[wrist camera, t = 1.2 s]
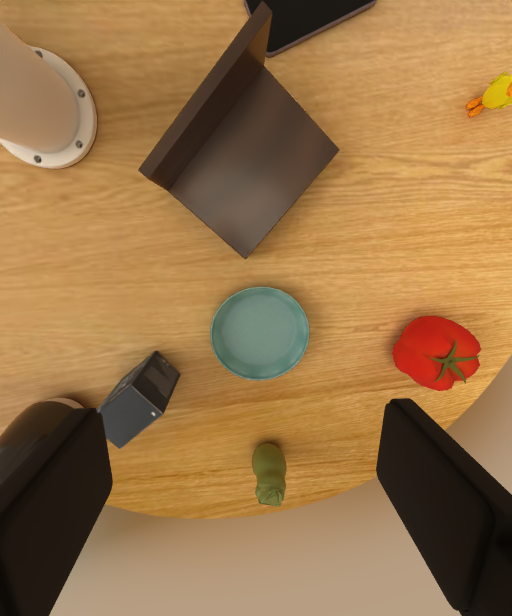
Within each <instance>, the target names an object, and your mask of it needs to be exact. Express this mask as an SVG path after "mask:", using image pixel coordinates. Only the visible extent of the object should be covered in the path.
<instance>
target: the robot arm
mask: <svg viewBox="0 0 512 616" xmlns="http://www.w3.org/2000/svg"><path fill="white" fill-rule="evenodd" d="M84 95H85V97H84V98H83V96H84ZM96 131H97V115H96V108H95V105H94V101H93V98H92V96H91V94H90V91H89V89H88V87H87V86H86V84H85V83H84V81H83V80H82V78H81V77H80V76H79V75H78V74H77V72H76V71H75V70H74V69H73V68H72V67H71V66H70V65H69V64H67V63H66V62H65V61H64V60H63V59H61V58H60V57H58V56H57V55H55V54H54V53H52V52H49V51H47V50H45V49H42V48H38V47H33V46H27V45H26V44H25V43H24V42H23V41H22V40H21V39H19V38H18V37H17V36H16V35H15V34H14V33H13V32H12V31H10V30H9V29H8V28H7V27H6V26H5V25H4V24H3V23H2V22H0V143H1V144H2V145H3V146H4V147H5V148H6V149H7V150H8V151H9V152H10V153H12V154H13V155H15V156H16V157H18V158H19V159H21V160H23V161H25V162H27V163H29V164H32V165H35V166H38V167H42V168H47V169H61V168H65V167H69V166H71V165H73V164H75V163H77V162H78V161H80V160H81V159H82V158H83V157H84V156H85V155H86V154H87V153H88V151H89V150H90V148H91V146H92V144H93V142H94V139H95V135H96ZM82 145H83V147H81V146H82ZM41 160H42V161H41ZM376 471H377V476H378V479H379V481H380V483H381V485H382V487H383V488H384V490H385V492H386V493H387V495H388V497H389V499H390V501H391V502H392V504H393V506H394V508H395V509H396V511H397V513H398V515H399V516H400V518H401V520H402V522H403V523H404V525H405V527H406V529H407V530H408V532H409V534H410V536H411V537H412V539H413V541H414V543H415V544H416V546H417V548H418V550H419V552H420V553H421V555H422V557H423V558H424V560H425V562H426V564H427V566H428V567H429V569H430V571H431V573H432V574H433V576H434V578H435V580H436V581H437V583H438V585H439V587H440V588H441V590H442V592H443V594H444V595H445V597H446V599H447V601H448V602H449V604H450V605H451V606H452V607H453V609H455V610H459V612H460V614H461V615H462V616H512V495H511V494H510V493H509V492H508V491H507V490H506V489H505V488H504V487H503V486H502V485H501V484H500V483H499V482H498V481H497V480H496V479H495V478H493V477H492V476H491V475H490V474H489V473H488V472H487V471H486V470H485V469H484V468H483V467H482V466H481V465H480V464H479V463H478V462H477V461H476V460H475V459H474V458H473V457H471V456H470V455H469V454H468V453H467V452H466V451H465V450H464V449H463V448H462V447H461V446H460V445H459V444H458V443H457V442H456V441H455V440H453V439H452V437H450V436H449V435H448V434H447V433H446V432H445V431H444V430H443V429H442V428H441V427H440V426H439V425H438V424H437V423H436V422H435V421H434V420H433V419H432V418H431V417H430V416H429V415H428V414H426V413H425V412H424V411H423V410H422V409H421V408H420V407H419V406H418V405H417V404H416V403H415V402H414V401H413V400H411V399H409V398H404V399H392V400H391V401H390V403H388V404H386V406H385V411H384V418H383V425H382V432H381V439H380V446H379V453H378V460H377V467H376ZM112 483H113V480H112V473H111V467H110V460H109V454H108V448H107V441H106V435H105V429H104V422H103V416H102V414H101V413H100V412H97V410H96V409H95V408H75V409H73V410H72V411H71V412H70V413H69V414H68V415H67V416H66V417H65V418H64V419H63V420H62V421H61V422H60V423H59V424H58V425H57V426H56V427H55V429H54V430H53V431H52V432H51V433H50V434H49V435H48V436H47V437H46V438H45V439H44V440H43V441H42V442H41V443H40V444H39V445H38V446H37V447H36V448H35V449H34V451H33V452H32V453H31V454H30V455H29V456H28V457H27V458H26V459H25V460H24V461H23V462H22V463H21V464H20V465H19V466H18V467H17V468H16V469H15V470H14V472H13V473H12V474H11V475H10V476H9V477H8V478H7V479H6V480H5V481H4V482H3V483H2V484H1V485H0V616H49V614H50V612H51V610H52V608H53V606H54V604H55V602H56V600H57V598H58V596H59V594H60V592H61V590H62V588H63V586H64V584H65V582H66V580H67V578H68V576H69V574H70V572H71V570H72V568H73V566H74V564H75V562H76V560H77V558H78V556H79V554H80V552H81V550H82V548H83V546H84V544H85V542H86V540H87V538H88V536H89V534H90V532H91V530H92V528H93V526H94V524H95V522H96V520H97V518H98V516H99V514H100V512H101V510H102V508H103V506H104V504H105V502H106V500H107V498H108V496H109V494H110V492H111V489H112Z"/></svg>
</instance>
